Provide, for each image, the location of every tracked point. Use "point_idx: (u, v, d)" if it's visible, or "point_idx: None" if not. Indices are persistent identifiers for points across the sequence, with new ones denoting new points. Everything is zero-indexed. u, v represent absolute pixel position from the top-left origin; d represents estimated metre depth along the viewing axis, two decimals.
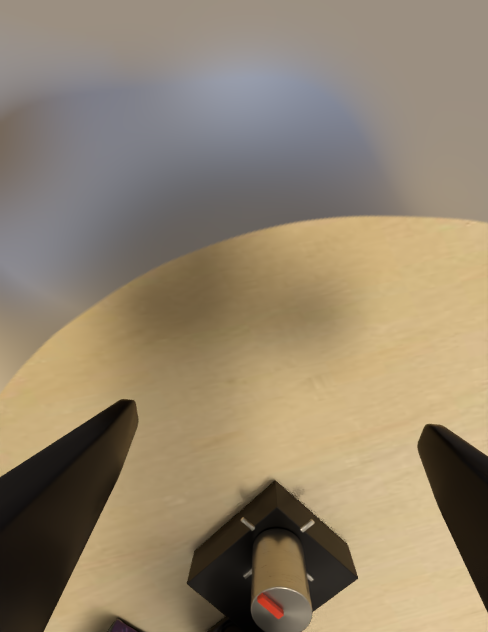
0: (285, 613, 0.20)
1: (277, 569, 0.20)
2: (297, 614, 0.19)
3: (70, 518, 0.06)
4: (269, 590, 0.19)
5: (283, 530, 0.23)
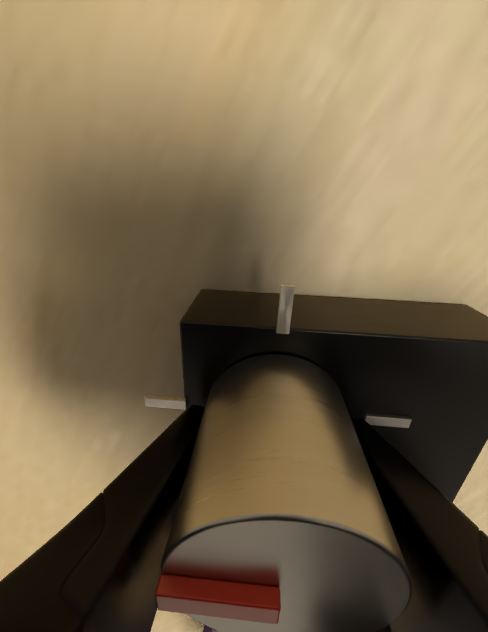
0: (297, 591, 0.05)
1: (199, 469, 0.05)
2: (338, 578, 0.04)
3: (167, 528, 0.06)
4: (170, 559, 0.05)
5: (241, 361, 0.08)
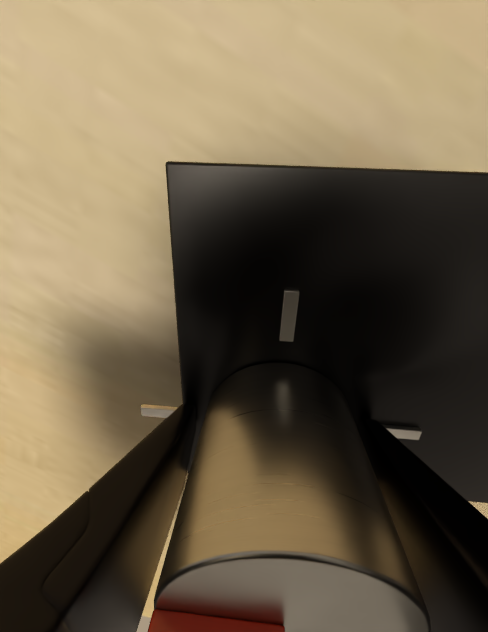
0: (303, 630, 0.04)
1: (197, 491, 0.05)
2: (349, 618, 0.04)
3: (154, 527, 0.06)
4: (164, 594, 0.04)
5: (243, 369, 0.08)
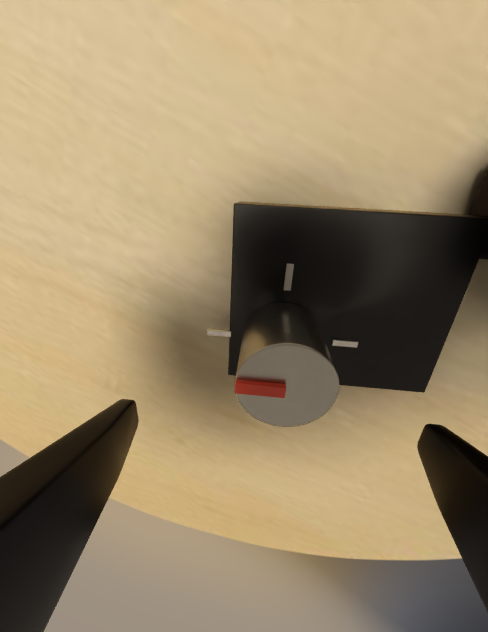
0: (292, 386, 0.11)
1: (250, 342, 0.12)
2: (309, 376, 0.11)
3: (70, 518, 0.06)
4: (241, 369, 0.11)
5: (264, 306, 0.15)
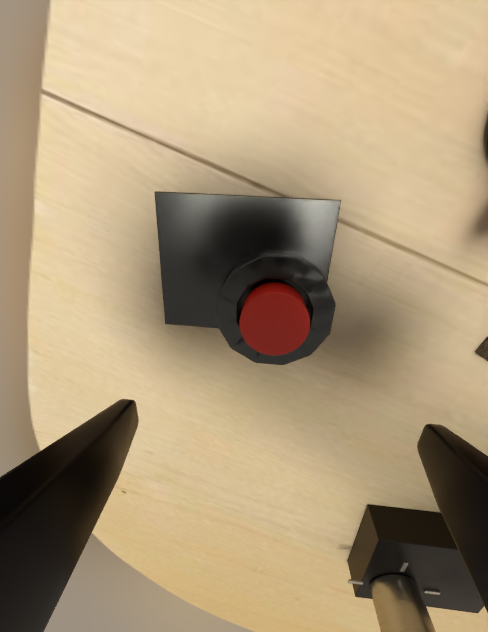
0: None
1: (393, 626, 0.23)
2: None
3: (70, 518, 0.06)
4: None
5: (386, 575, 0.26)
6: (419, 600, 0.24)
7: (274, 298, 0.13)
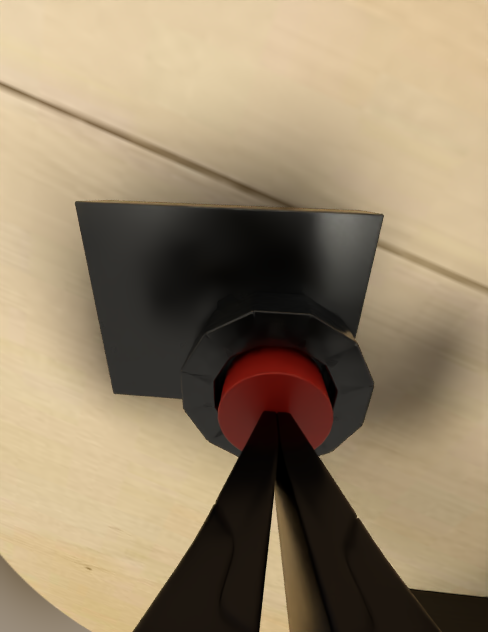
0: None
1: None
2: None
3: None
4: None
5: None
6: None
7: (274, 382, 0.08)
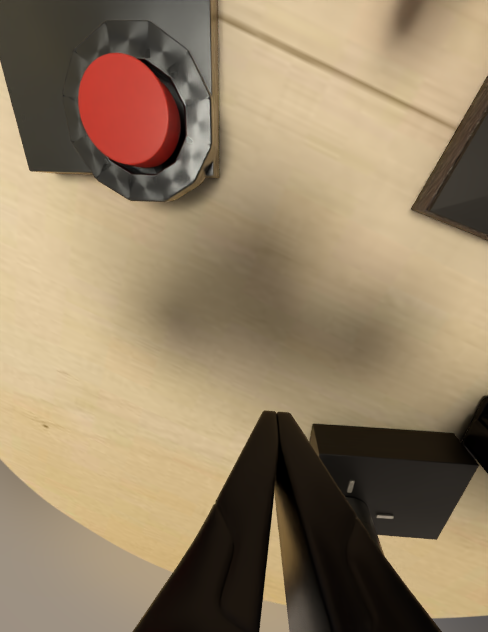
0: None
1: None
2: None
3: None
4: None
5: None
6: (366, 520, 0.22)
7: (113, 63, 0.10)
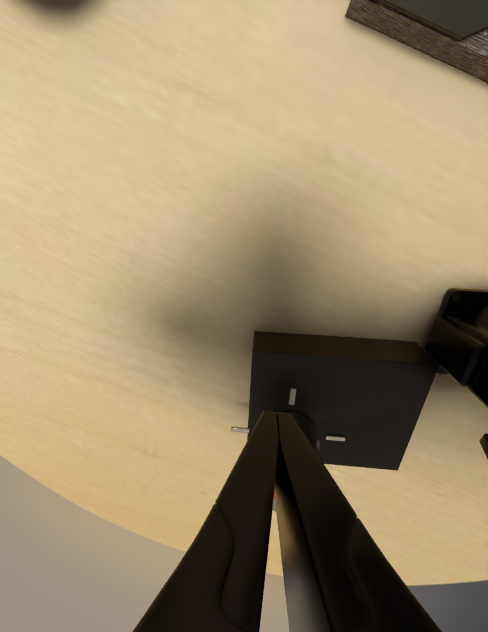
0: None
1: None
2: None
3: None
4: None
5: None
6: (308, 433, 0.18)
7: None
